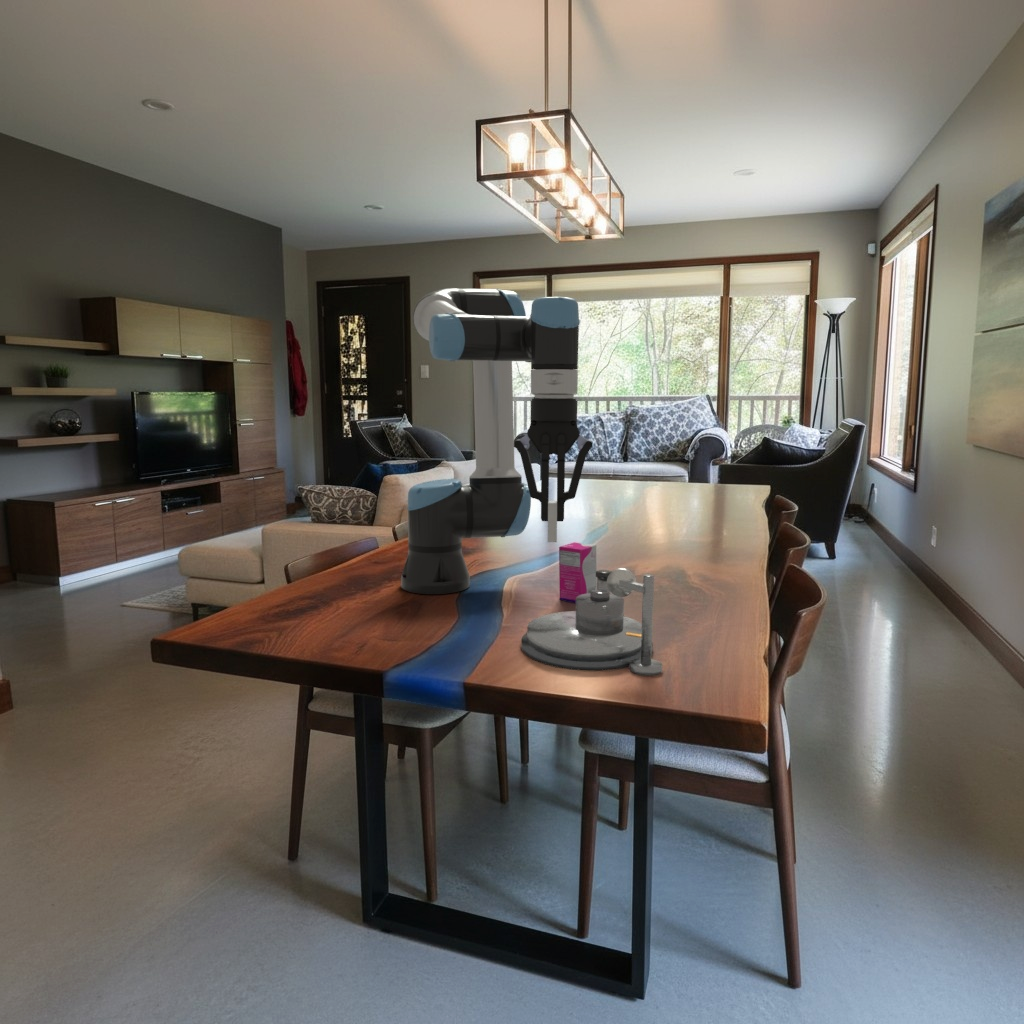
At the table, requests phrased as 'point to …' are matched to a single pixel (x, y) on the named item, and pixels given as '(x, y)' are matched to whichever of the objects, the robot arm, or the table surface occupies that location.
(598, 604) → the cover
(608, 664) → the base
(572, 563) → the supplement box
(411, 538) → the robot arm
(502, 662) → the table surface
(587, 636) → the turntable
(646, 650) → the metal lever handle
